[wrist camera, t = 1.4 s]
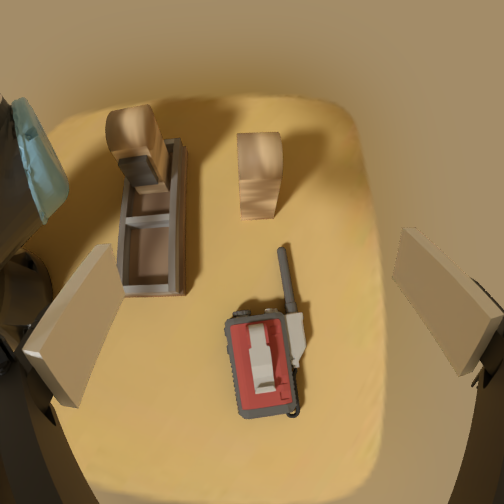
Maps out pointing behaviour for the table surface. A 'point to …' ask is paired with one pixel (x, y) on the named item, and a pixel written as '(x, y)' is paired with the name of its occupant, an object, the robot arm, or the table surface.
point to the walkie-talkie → (267, 355)
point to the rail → (149, 204)
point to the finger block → (259, 173)
